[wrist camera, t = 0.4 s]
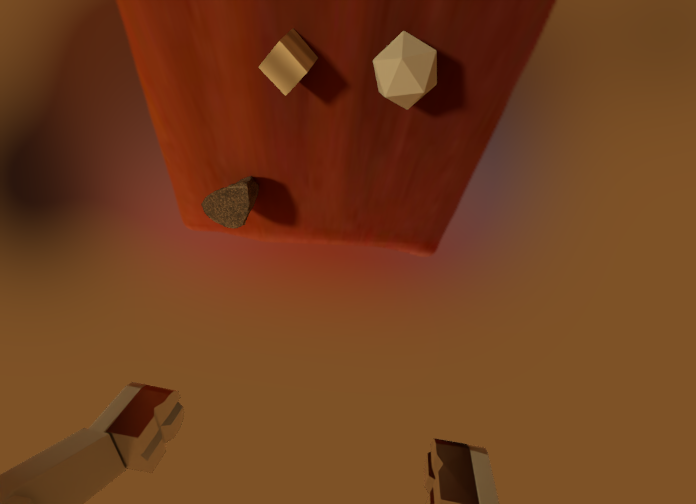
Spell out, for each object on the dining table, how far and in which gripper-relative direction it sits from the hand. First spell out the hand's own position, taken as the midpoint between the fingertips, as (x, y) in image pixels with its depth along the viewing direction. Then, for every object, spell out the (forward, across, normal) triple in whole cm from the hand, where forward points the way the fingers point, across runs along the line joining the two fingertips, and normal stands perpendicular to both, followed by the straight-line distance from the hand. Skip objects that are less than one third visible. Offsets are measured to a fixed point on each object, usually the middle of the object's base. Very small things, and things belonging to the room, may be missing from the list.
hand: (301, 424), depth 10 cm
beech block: (+50, +15, -10) cm, 53 cm away
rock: (+59, +28, +14) cm, 67 cm away
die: (+50, -2, -11) cm, 51 cm away
